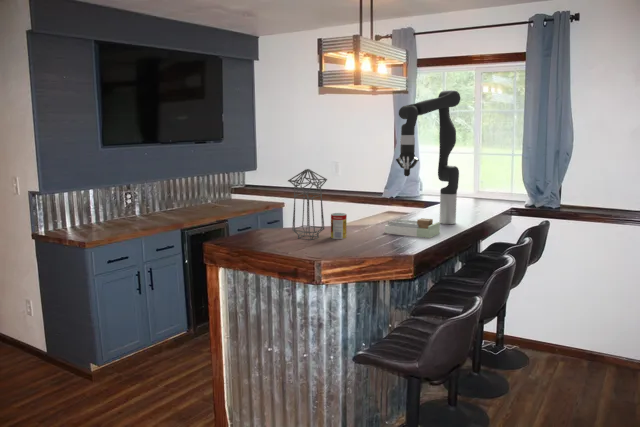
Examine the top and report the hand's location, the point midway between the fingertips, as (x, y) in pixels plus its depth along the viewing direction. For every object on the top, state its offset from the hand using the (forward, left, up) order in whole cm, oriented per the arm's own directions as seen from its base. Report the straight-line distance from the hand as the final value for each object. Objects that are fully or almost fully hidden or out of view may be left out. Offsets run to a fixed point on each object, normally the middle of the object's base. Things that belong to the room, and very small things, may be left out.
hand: (406, 176), depth 298 cm
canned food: (+40, -19, -29) cm, 53 cm away
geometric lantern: (+50, -31, -29) cm, 66 cm away
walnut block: (+10, +15, -25) cm, 31 cm away
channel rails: (+10, +5, -25) cm, 27 cm away
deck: (+10, +8, -29) cm, 32 cm away
